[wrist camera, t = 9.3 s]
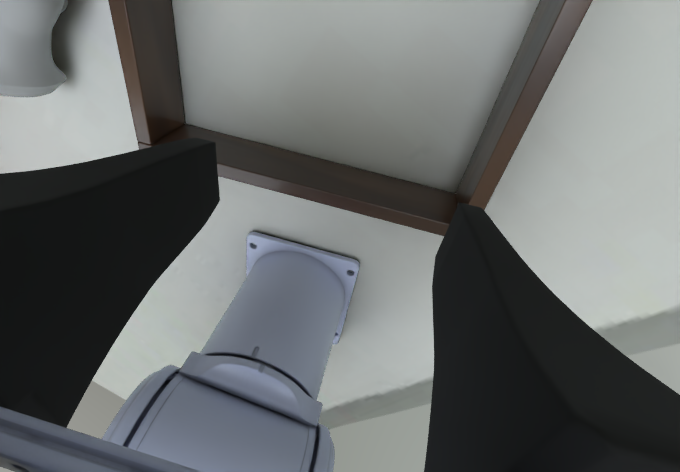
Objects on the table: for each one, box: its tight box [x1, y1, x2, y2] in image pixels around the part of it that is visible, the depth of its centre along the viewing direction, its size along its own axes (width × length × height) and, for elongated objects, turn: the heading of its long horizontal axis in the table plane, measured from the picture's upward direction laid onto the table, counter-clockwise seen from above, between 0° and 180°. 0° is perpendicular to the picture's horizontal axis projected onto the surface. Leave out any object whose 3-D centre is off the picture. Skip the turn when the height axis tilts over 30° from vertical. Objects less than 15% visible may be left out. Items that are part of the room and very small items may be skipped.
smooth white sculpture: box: [0, 0, 68, 97], centre depth 17 cm, size 4×8×5 cm
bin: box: [108, 0, 592, 236], centre depth 15 cm, size 15×18×3 cm
